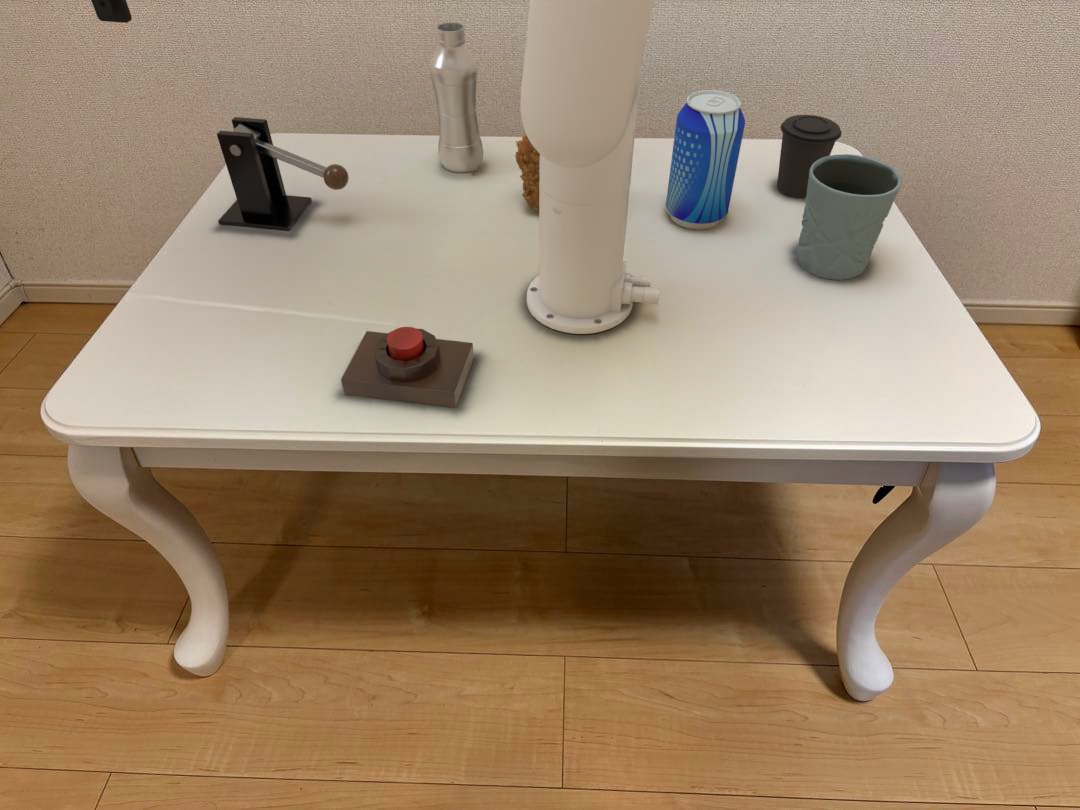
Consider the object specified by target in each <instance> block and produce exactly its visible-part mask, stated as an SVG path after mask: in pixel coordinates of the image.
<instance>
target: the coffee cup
mask: <svg viewBox="0 0 1080 810" xmlns="http://www.w3.org/2000/svg"><path fill="white" fill-rule="evenodd" d="M780 131H781V133H782V136H781V146H780V155H779V163H778V164H779V165H778V173H777V181H776V183H777V184H776V189H777V191H778V192H779V193H780V194H781V195H783V196H786V197H789V198H793V199H806V195H807V186H808V179H809V171H810V168H811V166H812V165H813V163H814V162H816V161H817V160H819V159H821V158H823V157H826V156H831V153H832V151H833V149H834V146H835V144H836V141H838V140H839V139H840V138H841V137H842V130H841V127H840V126H839V124H838V123H836V121H833V120H832V119H829V118H827V117H825V116H820V115H814V114H797V115H792V116H789V117H787V118H785V120H784V121H782V122H781V124H780Z"/></svg>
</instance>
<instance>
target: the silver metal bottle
mask: <svg viewBox="0 0 1080 810" xmlns="http://www.w3.org/2000/svg"><path fill="white" fill-rule="evenodd" d="M435 29H436V38H435V39H436V44H438V47H437V49H436V50H435V51H434V53H433V55H432V57H431V59H430V62H429V68H428V71H429V77H430V79H431V83H432V89H433V91H434V96H435V101H436V107H437V114H438V128H439V129H438V134H439V135H438V136H439V137H438V144H437V145H438V146H437V147H438V148H437V150H438V151H437V154H438V157H439V160H440V163H441V165H442V166H443V167H444V169H446V170H447V171H449V172H452V173H458V174H461V173H463V174H465V173H471V172H474V171H476V170H478V169H479V168H480V167H481V164H482V163H483V161H484V146H483V142H482V138H481V135H480V130H479V129H480V128H479V123H478V117H477V83H478V65H477V62H476V60H475V58H474V56H473V55H472V53H471V52H470V51H469V49H468V48H467V46H465V43H466V42H467V37H466V32H465V30H466V29H465V25H464V24H462V23H459V22H443V23H439V24H438V25H436V28H435Z"/></svg>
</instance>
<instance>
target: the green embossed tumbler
mask: <svg viewBox="0 0 1080 810" xmlns="http://www.w3.org/2000/svg"><path fill="white" fill-rule="evenodd" d="M902 183H903V180H902V177H901V175H900V173H899V171H898V170H896V169H895V168H894V167H892V166H891V165H890V164H888V163H886V162H884V161H882V160H879V159H876V158H874V157H873V158H872V157H867V156H863V155H858V154H851V153H849V154H848V153H844V154H843V153H842V154H832V155H831V154H830V156H826V157H823V158H821V159H819V160H817V161H816V162H814V163H813V165H812V166H811V168H810V171H809V179H808V186H807V195H806V198H804V202H805V206H804V209H803V214H802V219H801V226H802V228H801V229H800V230H801V231H800V233H799V237H798V238H799V239H798V244H797V249H796V260H797V263H798V265H799V266H800V267H801V268H802V269H804V270H805V271H807V272H808V273H809V274H811V275H814V276H816V277H820V278H823V279H826V280H833V281H844V280H850V279H853V278H856V277H858V276H859V275H861V274H863V272H864V271H865V270H866V267H867V265H868V263H869V261H870V258H871V256H872V252H873V250H874V248H875V245H876V244H877V241H878V240H879V237H880V234H881V232H882V230H883V228H884V222H885V220H886V218H888V215H889V213H890V211H891V208H892V206H893V204H894V201H895V200H896V198H897V196H898V193H899V192H900V189H901V186H902Z"/></svg>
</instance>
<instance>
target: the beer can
mask: <svg viewBox="0 0 1080 810" xmlns="http://www.w3.org/2000/svg"><path fill="white" fill-rule="evenodd" d="M741 106H742V101H741V100H740V98H739V97H738V96H736V95H735V94H733V93H730V92H727V91H724V90H723V91H722V90H717V89H703V90H698V91H694V92H692V93H690V94H689V95H688V96H687V98H686V102H685V103H684V105H683V106H682V107H681V109H680V110H679V111H678V114H677V115H676V121H675V122H676V123H675V128H674V129H675V130H674V137H673V145H672V154H671V159H670V168H669V176H668V185H667V194H666V201H665V209H666V211H667V213H668V214H669V216H670V218H671V220H672V221H673V222H674V223H675V224H676V225H678V226H681V227H682V228H686V229H688V230H689V229H691V230H699V231H700V230H707V229H708V230H709V229H712V228H714V227H716V226H717V225H719V224H720V222H722V220H724V219H725V218H726V217H727V215H728V213H729V210H730V203H731V200H732V199H731V198H732V194H733V189H734V188H733V187H734V182H735V178H736V172H737V168H738V162H739V156H740V152H741V146H742V142H743V137H744V136H743V135H744V131H745V125H746V119H745V116H744V113H743V111H742V108H741Z"/></svg>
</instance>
